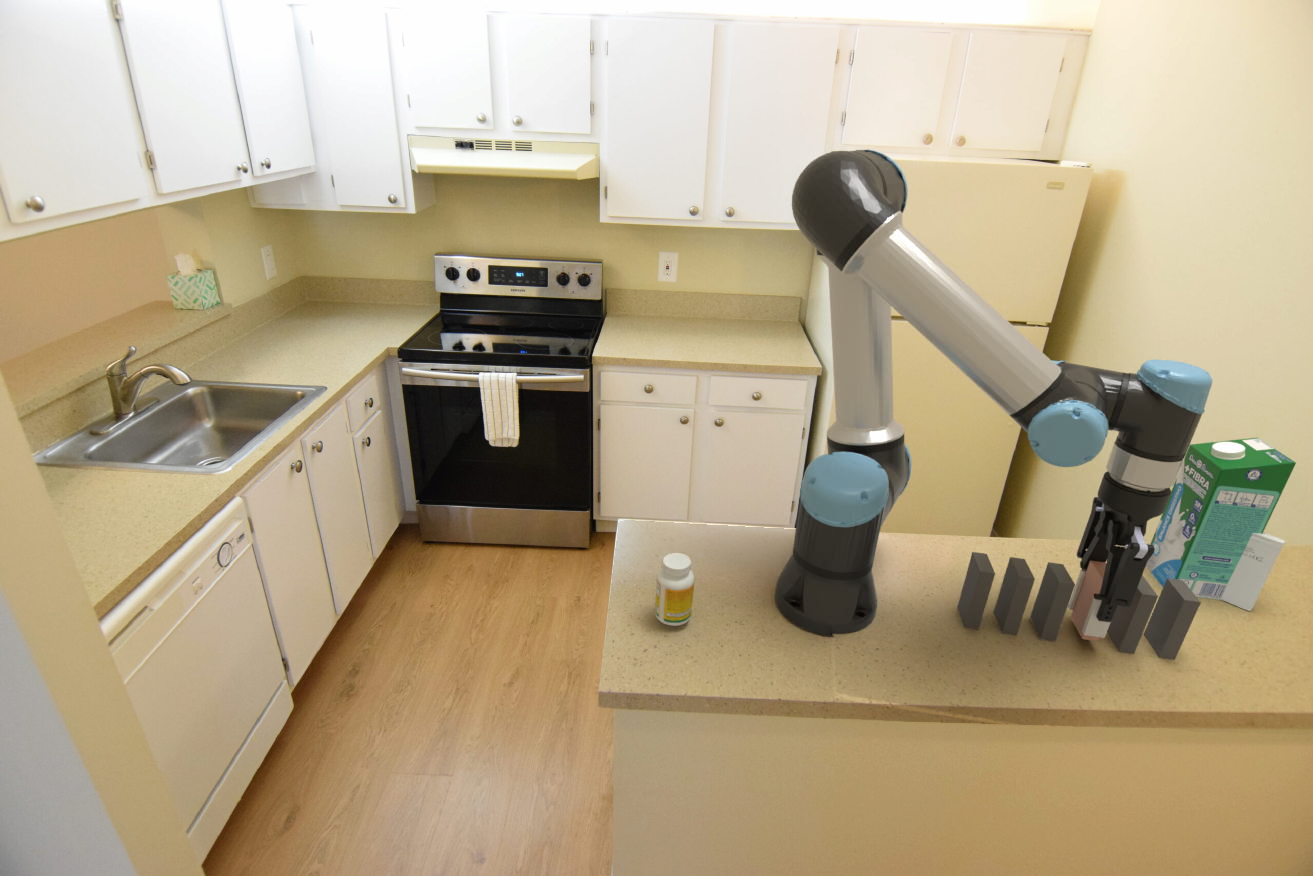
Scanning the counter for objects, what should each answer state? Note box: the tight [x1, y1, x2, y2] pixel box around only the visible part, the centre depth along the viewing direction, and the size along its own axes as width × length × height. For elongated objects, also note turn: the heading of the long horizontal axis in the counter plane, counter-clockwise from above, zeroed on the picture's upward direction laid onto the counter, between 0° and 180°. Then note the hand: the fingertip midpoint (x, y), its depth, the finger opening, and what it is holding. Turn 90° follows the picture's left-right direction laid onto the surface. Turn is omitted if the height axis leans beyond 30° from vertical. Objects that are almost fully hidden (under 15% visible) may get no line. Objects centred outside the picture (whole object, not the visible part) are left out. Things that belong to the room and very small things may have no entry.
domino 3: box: [1029, 561, 1076, 643], centre depth 99 cm, size 2×5×10 cm, turn 169°
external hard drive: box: [1220, 532, 1286, 612], centre depth 107 cm, size 2×8×12 cm, turn 39°
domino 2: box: [993, 556, 1036, 637], centre depth 100 cm, size 2×5×10 cm, turn 169°
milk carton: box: [1145, 437, 1297, 601], centre depth 108 cm, size 9×9×25 cm
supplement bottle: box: [654, 552, 695, 627], centre depth 99 cm, size 5×5×10 cm
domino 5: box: [1106, 574, 1159, 655], centre depth 98 cm, size 2×5×10 cm, turn 169°
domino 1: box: [957, 551, 996, 631], centre depth 101 cm, size 2×5×10 cm, turn 168°
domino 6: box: [1143, 578, 1202, 661], centre depth 97 cm, size 2×5×10 cm, turn 169°
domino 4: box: [1069, 561, 1107, 642], centre depth 98 cm, size 2×5×10 cm, turn 169°
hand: (1085, 621), depth 99 cm, fingers closed on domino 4, 5 cm apart
